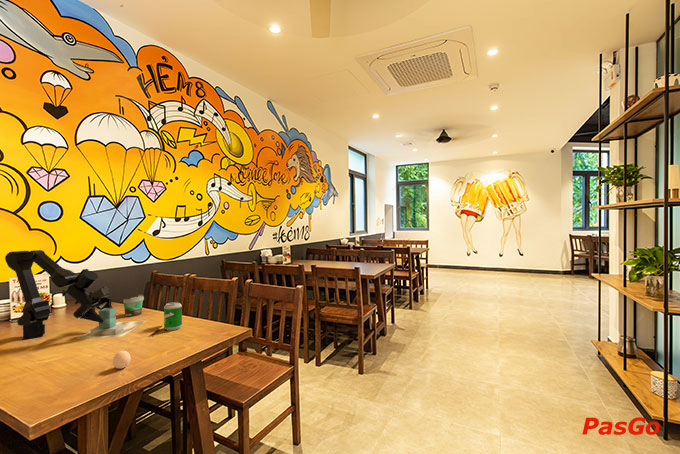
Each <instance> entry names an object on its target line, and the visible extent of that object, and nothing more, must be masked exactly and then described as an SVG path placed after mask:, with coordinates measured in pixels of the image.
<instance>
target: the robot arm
mask: <svg viewBox="0 0 680 454" xmlns="http://www.w3.org/2000/svg"><path fill="white" fill-rule="evenodd" d="M4 260H5V263H6V264H7V266H8V268H10V269H11V270H12V271H14V272H15V274H16V278H17V282H18V284H19V287H20V290H21V292H22V296H23V300H24V305H23V308H22V315H21V316H20V317H19V318H18V319H17V321H16V323H17V325H18V327H19V326H21V327H22V341H24V340H28V339H34V338H40V337H41V338H42V337H43V336H44V335H45V333H46V323H44V322H45V321H48V320H49V317H50V313H51V309H52V307H51V305H50V302H49V300H48V299H46V300H44V299H43V298H41V296H40V292H39V289H38V286H37V283H36V280H35V277H34V274H33V270H32V267H33V265H34V263H35V264H36V265H37V266H39V267H40V269H42V270H43V271H44V272H45V273H46V274H48V275H49V277H50V281H51V282H52V283H53V285H54V286H56V287H57V288H65V287H67V288H65V289H63V290H62V294H61V295H62V297H65V296H69V297H70V298H72V299H73V301H75V302H74V304H75V305H80V306H79V307H78V308H77V309H76V310H75V311H74V312H73V313H72V314H73V315H72V316H73V317H74V318H75V319H80V320H86V321H92V322H96V323H99V322H100V323H102V322H103V321H104V320H103V319H102V318H101V317H100V316H99V313H97V312H96V309H97V310H98V312H99V311H100V310H102V309H104V308H113V306H112V302H113V299H114V297H112V296H111V295H109V294H110V291H111V290H110V289H111V288H109V287H108V286H106V285H104V286H102V287H99V289H97V290H95V291H93V290H91V291H89V290H88V289H89V288H90V287H91V286H92V285H93V284H94V283H95V282H96V281H97V280H98V278H99V275H98V273H97V272H94V271H92V270H89V269H88V268H83V269H82V270H81V271H80V273H79V274H77V273H76V272H74V271H72V270H70V269H67V268H64V267H62V266H61V265H59V264H58V263H57V262H55V260H54V259H52V258H51V257H50V256H49V255H48V254H47V253H46V252H45V251H44V250H41V249H36V250H35V249H33V250H16V251H9V252H8V253H6V254H5V256H4Z"/></svg>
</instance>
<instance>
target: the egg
mask: <svg viewBox="0 0 680 454" xmlns="http://www.w3.org/2000/svg"><path fill="white" fill-rule="evenodd" d="M130 362H131V354H130V353H129V352H128V351H126V350H120V351H118V352H116V354H115V355H114V356H113V358H112V365H113V367H114V368H116V369H117V370H118V369H120V370H121V369H124V368H126V367H127V366H128V365H129V364H130Z"/></svg>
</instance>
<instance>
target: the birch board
mask: <svg viewBox="0 0 680 454" xmlns="http://www.w3.org/2000/svg"><path fill="white" fill-rule="evenodd" d="M145 322H147V320H139V321H116V325H121V324H124V330H123V331H121V332H119V333H118V334H116V335H100V336H90V331H88V332H86V333H84V334H83V335H81V336H78V337H77V338H76V339H77V340H81V339H84V340H85V339H102V338H119V337H124V336H125V335H127V334H128V333H130V332H131V331H133V330H134V329H136V328H137V327H139V326H141V325H142V324H144V323H145Z"/></svg>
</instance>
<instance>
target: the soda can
mask: <svg viewBox="0 0 680 454" xmlns="http://www.w3.org/2000/svg"><path fill="white" fill-rule="evenodd" d="M182 309H183V305H182V304H181V303H180V302H178V301H175V302H173V301H172V302H168V303H167V302H166V304H165V305H164V307H163V328H164V329H165V330H166V331H169V332H171V331H172V332H173V331H177V330H179V329H181V327H182V326H183V310H182Z"/></svg>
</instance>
